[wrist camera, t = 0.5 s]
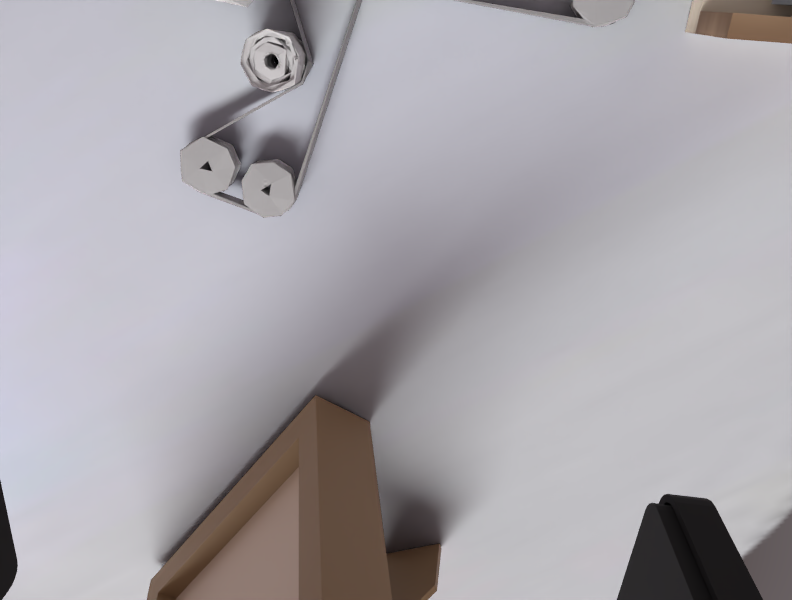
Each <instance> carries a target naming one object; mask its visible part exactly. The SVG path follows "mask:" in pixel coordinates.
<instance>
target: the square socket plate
mask: <svg viewBox="0 0 792 600" xmlns="http://www.w3.org/2000/svg"><path fill="white" fill-rule="evenodd" d="M771 4H775V5H788V6H792V0H772V3H771Z"/></svg>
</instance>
